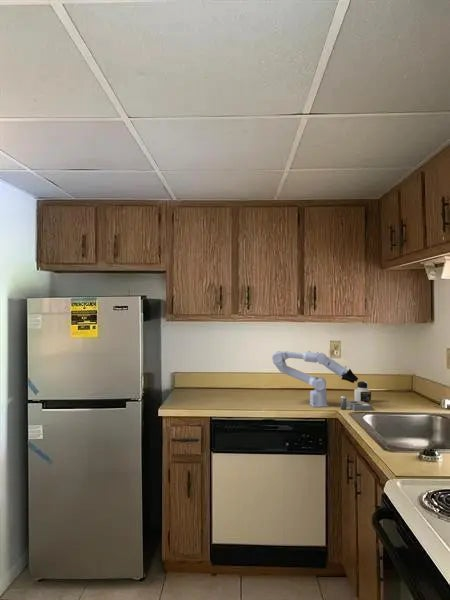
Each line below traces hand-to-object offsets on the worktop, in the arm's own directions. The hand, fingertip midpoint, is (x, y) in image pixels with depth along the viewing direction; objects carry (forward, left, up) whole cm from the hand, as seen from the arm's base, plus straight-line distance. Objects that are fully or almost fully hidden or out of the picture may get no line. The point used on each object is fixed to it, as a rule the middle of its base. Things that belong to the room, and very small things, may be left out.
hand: (355, 380), depth 278 cm
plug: (-9, -5, -15) cm, 18 cm away
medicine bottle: (+9, +13, -15) cm, 22 cm away
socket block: (+1, -3, -15) cm, 15 cm away
